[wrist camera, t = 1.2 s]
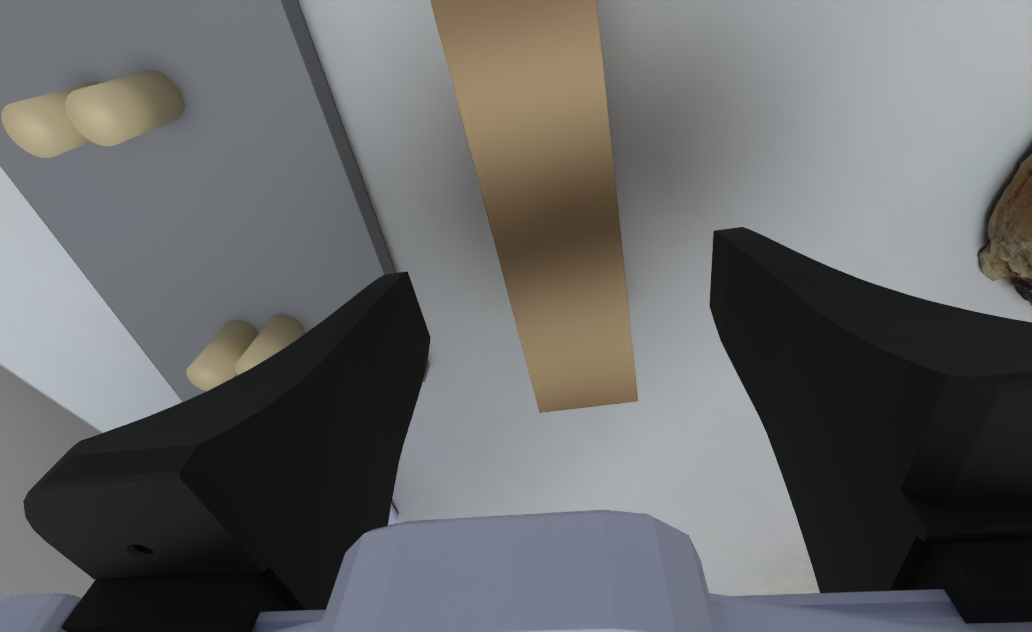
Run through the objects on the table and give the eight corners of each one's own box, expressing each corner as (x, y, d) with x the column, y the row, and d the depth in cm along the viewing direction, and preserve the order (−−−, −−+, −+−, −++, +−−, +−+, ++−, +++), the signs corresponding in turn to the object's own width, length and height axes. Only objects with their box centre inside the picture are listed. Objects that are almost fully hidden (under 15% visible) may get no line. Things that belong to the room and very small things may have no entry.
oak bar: (618, 307, 23) (638, 401, 18) (540, 318, 23) (539, 412, 18) (573, -71, 15) (586, -88, 10) (458, -40, 16) (419, -42, 11)
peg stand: (429, 365, 25) (411, 429, 22) (198, 389, 27) (148, 452, 23) (267, -84, 15) (184, -99, 12) (-85, 3, 17) (-246, 13, 13)
